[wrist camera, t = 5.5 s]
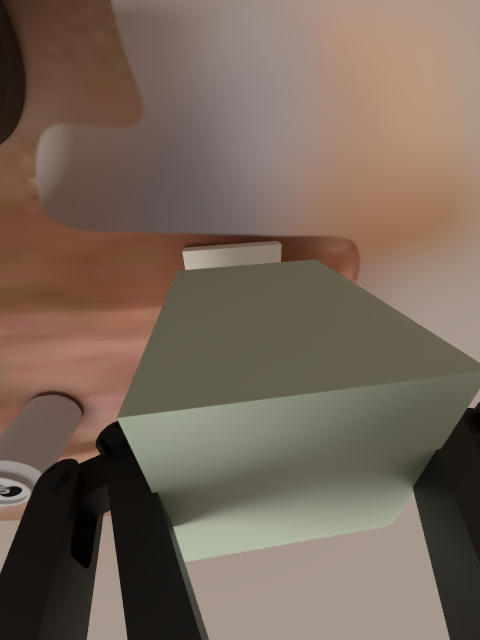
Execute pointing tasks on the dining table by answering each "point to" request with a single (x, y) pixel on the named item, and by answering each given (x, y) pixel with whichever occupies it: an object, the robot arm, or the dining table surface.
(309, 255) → the dining table surface
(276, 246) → the board
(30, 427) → the can
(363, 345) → the block
